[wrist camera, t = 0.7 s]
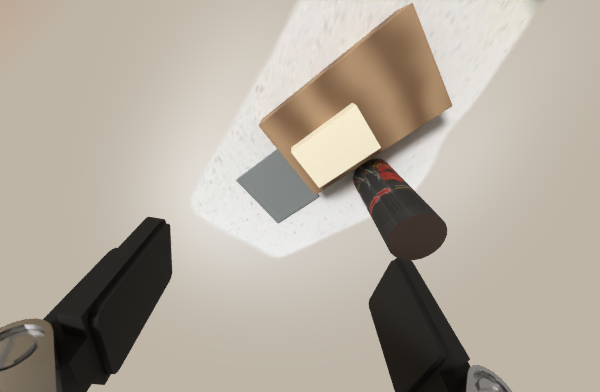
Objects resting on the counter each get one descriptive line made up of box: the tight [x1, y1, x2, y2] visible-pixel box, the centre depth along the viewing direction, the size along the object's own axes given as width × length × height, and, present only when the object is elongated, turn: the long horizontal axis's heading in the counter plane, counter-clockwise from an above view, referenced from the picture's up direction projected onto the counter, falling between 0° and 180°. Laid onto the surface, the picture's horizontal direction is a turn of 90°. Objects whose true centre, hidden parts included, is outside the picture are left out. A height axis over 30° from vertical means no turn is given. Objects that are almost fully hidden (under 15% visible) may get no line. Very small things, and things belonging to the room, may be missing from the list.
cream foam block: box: [291, 103, 381, 188], centre depth 29 cm, size 9×6×2 cm, turn 126°
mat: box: [236, 149, 319, 223], centre depth 37 cm, size 8×10×1 cm
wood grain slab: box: [259, 3, 452, 195], centre depth 30 cm, size 20×12×4 cm, turn 126°
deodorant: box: [353, 159, 447, 260], centre depth 30 cm, size 6×6×15 cm
